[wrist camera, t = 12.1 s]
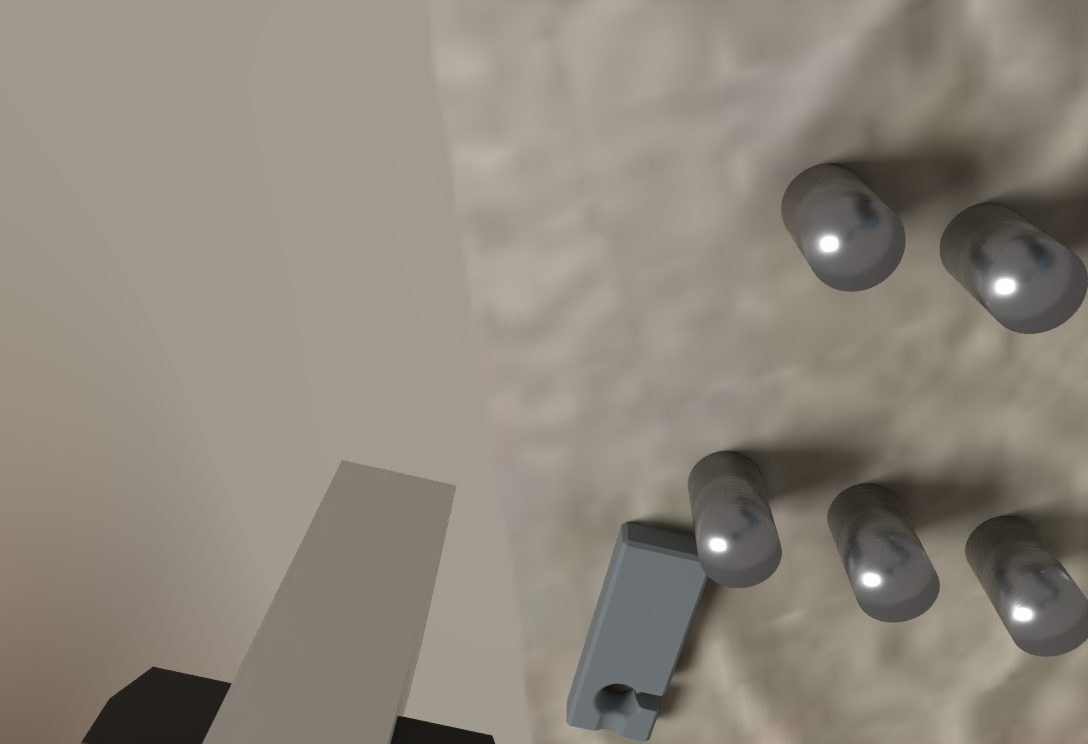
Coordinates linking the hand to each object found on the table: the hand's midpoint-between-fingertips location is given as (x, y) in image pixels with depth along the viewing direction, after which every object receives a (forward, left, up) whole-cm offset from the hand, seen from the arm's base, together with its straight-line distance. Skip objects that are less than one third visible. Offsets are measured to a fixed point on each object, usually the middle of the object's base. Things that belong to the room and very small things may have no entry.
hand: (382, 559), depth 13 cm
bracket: (+19, +9, -25) cm, 33 cm away
